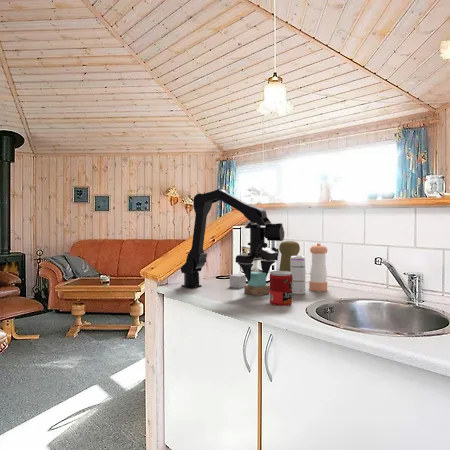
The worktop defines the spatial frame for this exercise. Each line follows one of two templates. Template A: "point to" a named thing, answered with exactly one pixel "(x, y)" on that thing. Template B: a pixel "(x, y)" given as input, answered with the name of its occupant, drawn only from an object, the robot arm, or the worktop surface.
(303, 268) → the syrup box
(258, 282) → the teal cube
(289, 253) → the pepper shaker
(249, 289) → the oak slab
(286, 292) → the canned food
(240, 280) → the grey cube
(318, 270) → the pepper shaker
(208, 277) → the worktop surface
